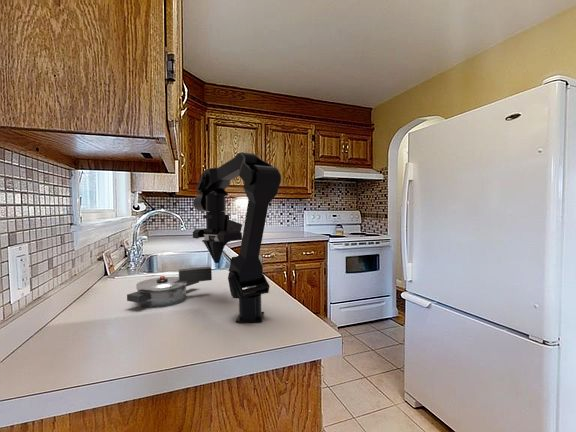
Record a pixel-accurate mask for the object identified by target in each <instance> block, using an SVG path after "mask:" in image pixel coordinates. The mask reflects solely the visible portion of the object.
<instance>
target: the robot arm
mask: <svg viewBox="0 0 576 432" xmlns="http://www.w3.org/2000/svg"><path fill="white" fill-rule="evenodd" d="M238 177H239V178H240V179H241V180H242V181H243V191H244V192H245V195H246V197H247V200H248V202H247V207H246V213H245V219H244V224H242V223H240V222H237V221H235V220H231V219H230V215H229V214H226V197H227V196H229V193H228V192H227V191H226V189H227V188H228V187H229V186H230V185H231V181H232V180H233V179H236V178H238ZM281 183H282V175H281V173H280V171H279V169H278V168H277V167H276V166H273V165H272V164H270V163H268V162H267V161H265V160H263V159H261V158H260V157H259V156H258V155H257V154H255V153H250V152H242V151H241V152H239V153H236V155H235V156H234V157H233V158H231V159H230V160H228V161H227V162H225V163H224V164H222V165H220V166H218V167H209V168H206V169H204V170H203V172H202V173H201V174H200V178H199V181H198V183H197V185H196V189H197V190H196V192H197V194H198V195H196V196H195V197H194V199H193V201H192V205H193V207H194V209H195V210H196V211H198V212H205V214H203V219H205V223H206V225H205V226H206V228H195V229H194V230H193V231H192V238H193V239H199V238H203V240H201V241H202V243H203V244H204V246H205V247H206V249H207V251H208V252H209V255H210V257H211V258H212V260H213V263H215V264H219V263H220V261H221V257H222V254H223V252H224V248H225V246H226V245H228V243H230V242H233V241H234V242H236V241H241V243H240V244H241V245H240V250H239V254H238V255H237V256H232V257H231V258H230V262H229V263H230V264H229V267H228V276H227V280H228V284H229V291H230V295H231V296H232V299H238V315H237V317H236V319H235V323H262V322H263V319H264V315H265V311H262V295H263V294H268V293H269V291H270V284H269V281H267V279H266V276H265V274H264V267H263V266H262V264H261V261H260V259H259V256H260V252H261V247H262V243H263V242H262V241H263V236H264V233H265V231H264V230H265V226H266V220H267V215H268V210H269V205H270V203H271V202H272V201H273V199H274V198H275V197H276V196H277V194H278V191H279V189H280V186H281ZM243 225H244V226H243ZM242 228H243V232H241V231H242ZM251 286H256V287H252V288H247V287H251Z"/></svg>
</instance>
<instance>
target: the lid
mask: <svg viewBox="0 0 576 432" xmlns="http://www.w3.org/2000/svg"><path fill="white" fill-rule="evenodd" d="M212 275H213V274H212V267H211V266H201V267H200V266H199V267H190V268H180V269H178V276H164V275H160V276H159V277H154V278H149V279H145V280H141V281H140V282H137V283H136V284H135V288H136V290H137V291H138V290H140V291H165V290H171V289H176V288H179V287H182V286H184V285H186V284H187V283H190V282H199V283H200V282H207V281H212V280H213V276H212Z"/></svg>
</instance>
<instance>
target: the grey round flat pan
mask: <svg viewBox="0 0 576 432" xmlns="http://www.w3.org/2000/svg"><path fill="white" fill-rule="evenodd" d="M198 283H200V281H199V282H190V283H187V284H186V285H184V286H182V287H179V288H176V289H171V290H165V291H140V290H137V291H134V292H131V293H128V294H126V301H127V302H132V303H137V305H138V306H139V307H142V308H152V309H153V308H164V307H169V306H170V307H171V306H174V305H177V304H180V303H182V302H184V301H186V299H187V287H189V286H192V285H196V284H198Z"/></svg>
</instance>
